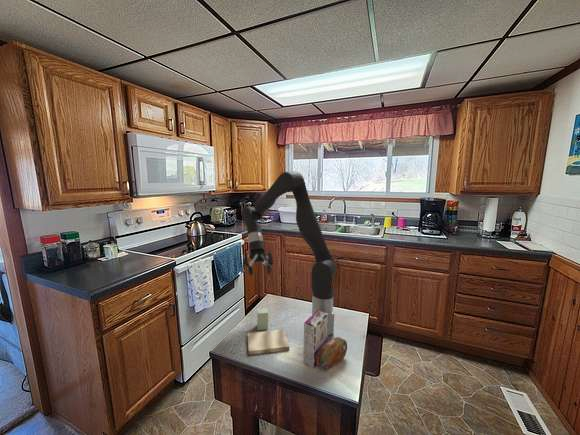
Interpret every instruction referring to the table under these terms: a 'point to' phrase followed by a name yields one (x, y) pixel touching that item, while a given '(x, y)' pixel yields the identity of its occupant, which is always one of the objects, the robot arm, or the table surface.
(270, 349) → the birch board
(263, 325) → the sage block
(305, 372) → the table surface
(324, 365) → the tin
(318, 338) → the candy bar box
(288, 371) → the table surface
